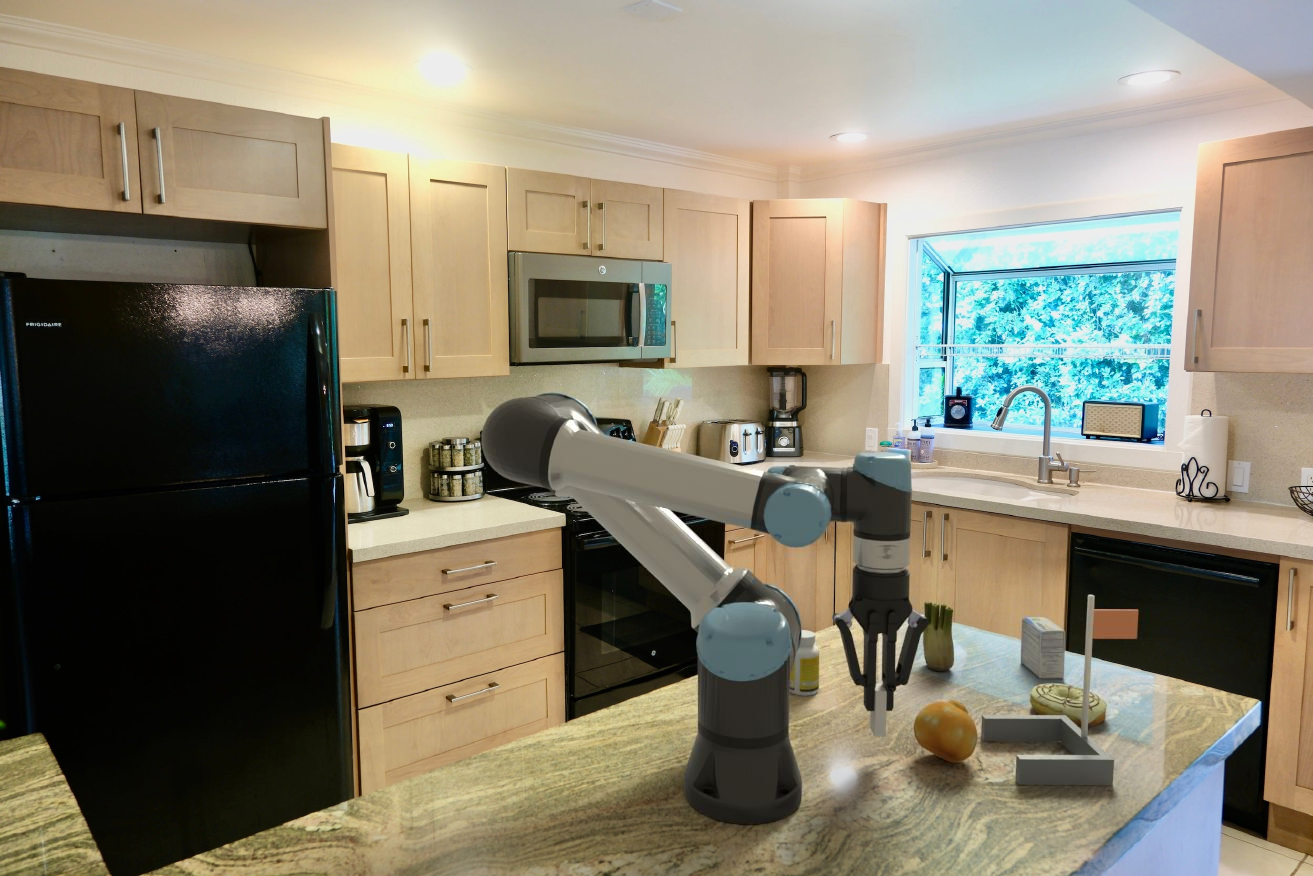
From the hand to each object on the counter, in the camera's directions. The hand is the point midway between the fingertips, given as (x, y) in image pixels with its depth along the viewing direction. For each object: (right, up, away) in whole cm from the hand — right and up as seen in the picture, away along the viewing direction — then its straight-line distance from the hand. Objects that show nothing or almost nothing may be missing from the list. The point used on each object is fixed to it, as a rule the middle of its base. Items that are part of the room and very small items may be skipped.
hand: (877, 732), depth 116 cm
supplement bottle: (-6, -2, +24) cm, 25 cm away
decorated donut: (+34, -3, +15) cm, 37 cm away
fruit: (+9, -4, 0) cm, 10 cm away
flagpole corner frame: (+26, -4, 0) cm, 26 cm away
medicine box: (+38, -1, +33) cm, 50 cm away
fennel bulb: (+20, -1, +34) cm, 39 cm away
